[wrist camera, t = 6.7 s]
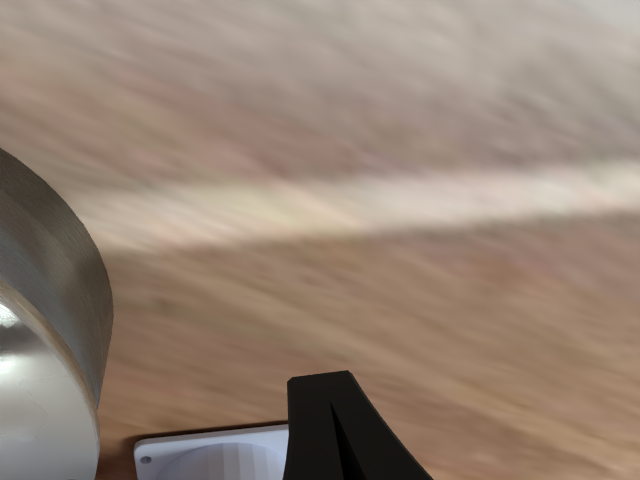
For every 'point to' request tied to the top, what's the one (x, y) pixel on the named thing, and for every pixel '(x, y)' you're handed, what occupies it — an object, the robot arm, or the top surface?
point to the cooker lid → (42, 399)
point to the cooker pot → (55, 266)
